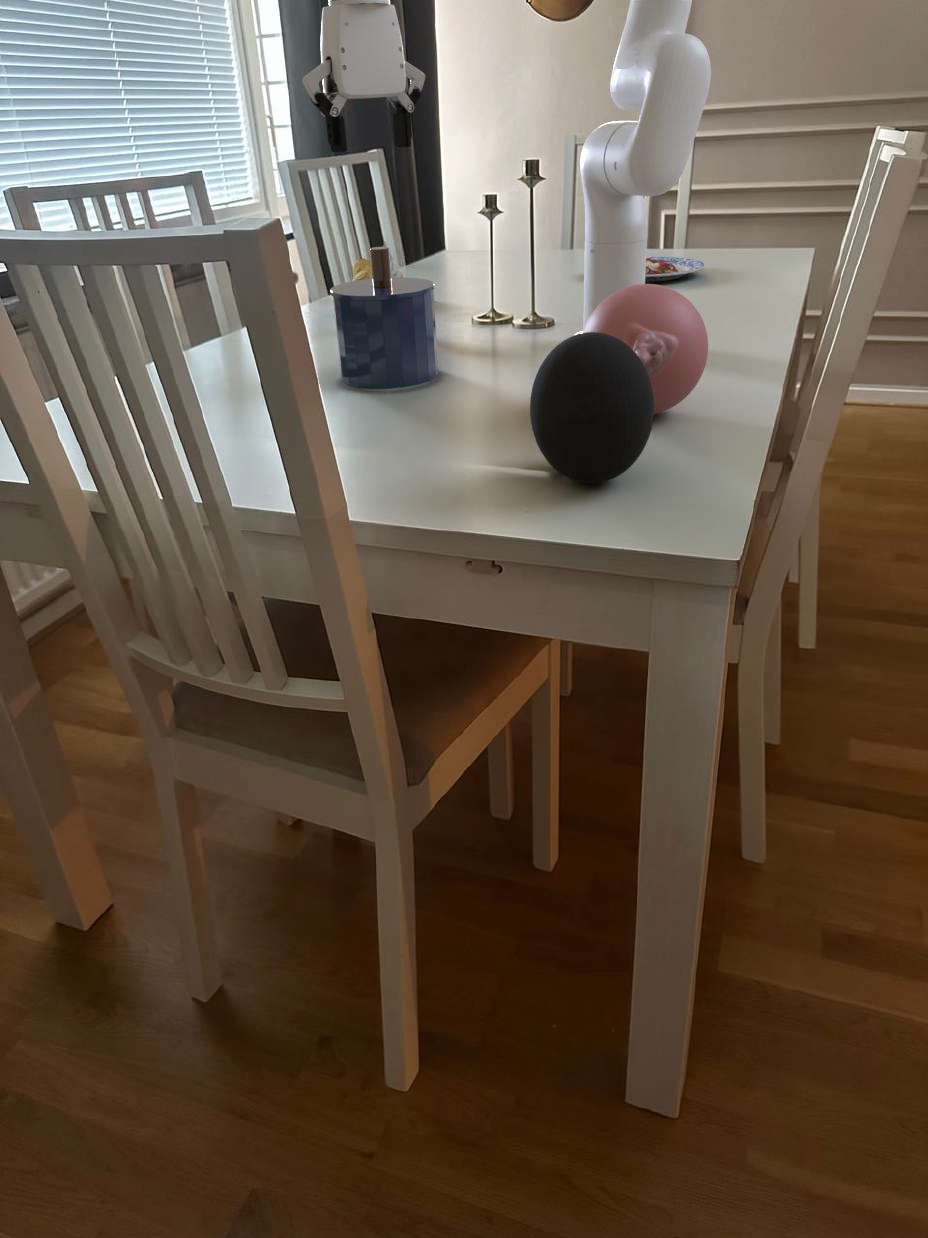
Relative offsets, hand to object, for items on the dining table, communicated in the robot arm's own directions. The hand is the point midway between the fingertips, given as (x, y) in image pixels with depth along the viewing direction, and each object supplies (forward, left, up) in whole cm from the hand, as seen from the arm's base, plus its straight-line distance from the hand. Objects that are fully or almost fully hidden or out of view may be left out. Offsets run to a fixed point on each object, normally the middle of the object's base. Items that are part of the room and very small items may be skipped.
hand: (371, 149), depth 121 cm
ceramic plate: (-12, -93, -30) cm, 99 cm away
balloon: (-39, +8, -30) cm, 50 cm away
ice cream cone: (+17, -30, -30) cm, 46 cm away
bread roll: (+33, -55, -30) cm, 71 cm away
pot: (0, 0, -30) cm, 30 cm away
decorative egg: (-40, +30, -30) cm, 59 cm away
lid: (0, 0, -18) cm, 18 cm away
